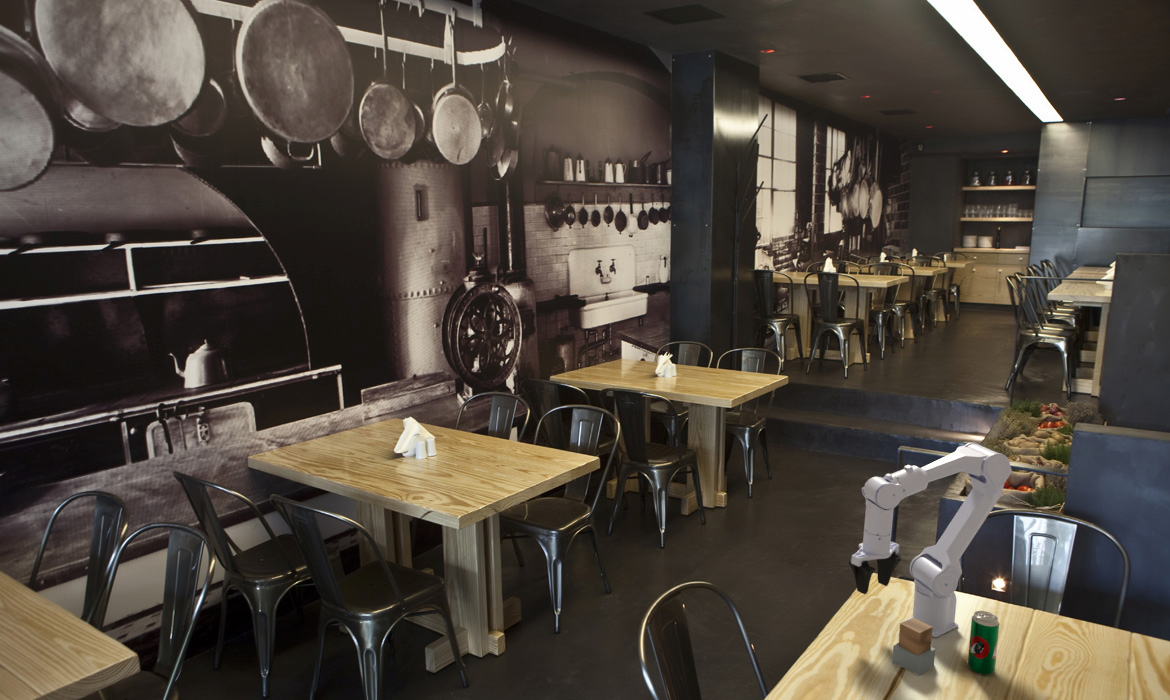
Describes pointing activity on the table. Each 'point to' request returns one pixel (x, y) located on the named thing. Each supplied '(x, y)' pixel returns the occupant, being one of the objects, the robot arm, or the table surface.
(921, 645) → the walnut block
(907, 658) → the slate block
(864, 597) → the table surface
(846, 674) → the table surface
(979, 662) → the soda can
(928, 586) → the robot arm
